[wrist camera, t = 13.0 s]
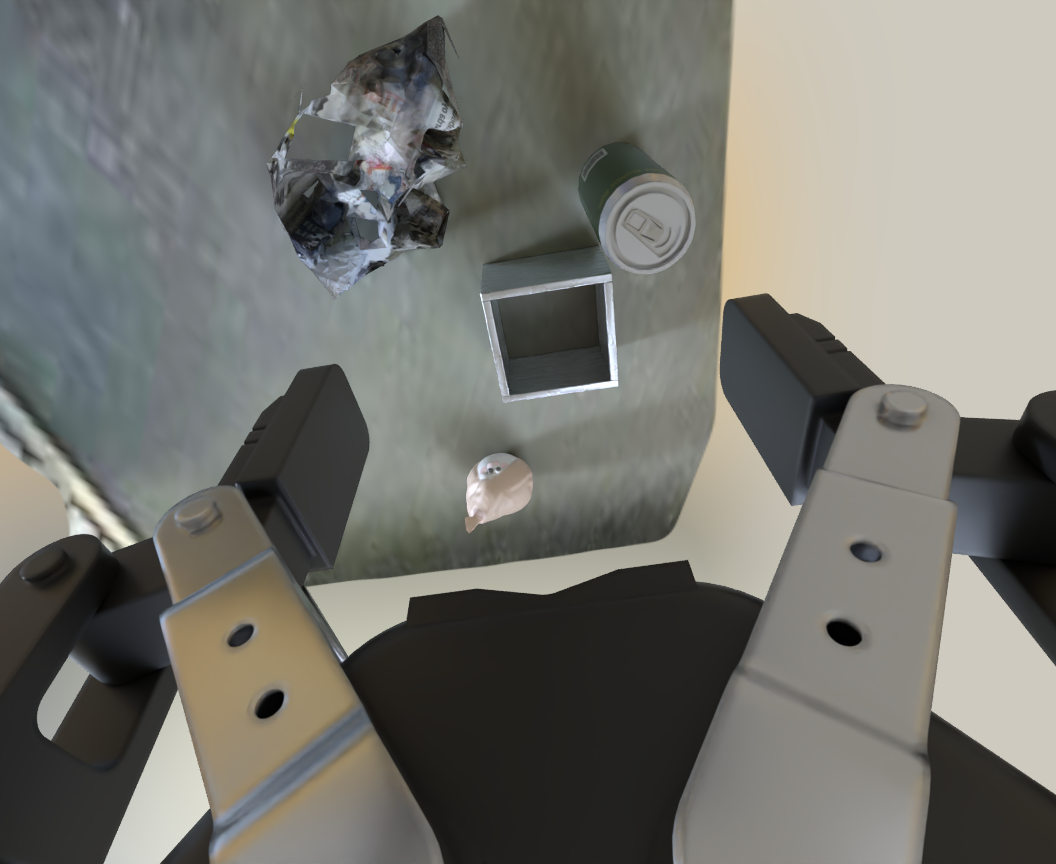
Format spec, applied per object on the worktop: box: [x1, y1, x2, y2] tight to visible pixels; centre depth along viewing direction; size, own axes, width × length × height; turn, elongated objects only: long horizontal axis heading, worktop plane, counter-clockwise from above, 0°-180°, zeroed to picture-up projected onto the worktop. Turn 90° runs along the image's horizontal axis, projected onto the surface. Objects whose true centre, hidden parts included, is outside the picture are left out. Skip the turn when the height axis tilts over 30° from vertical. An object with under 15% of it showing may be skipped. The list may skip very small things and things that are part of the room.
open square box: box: [480, 246, 619, 403], centre depth 42 cm, size 9×9×6 cm
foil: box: [267, 16, 467, 299], centre depth 35 cm, size 12×11×15 cm
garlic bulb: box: [465, 453, 533, 533], centre depth 51 cm, size 7×6×8 cm
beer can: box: [578, 143, 696, 274], centre depth 34 cm, size 5×5×12 cm
